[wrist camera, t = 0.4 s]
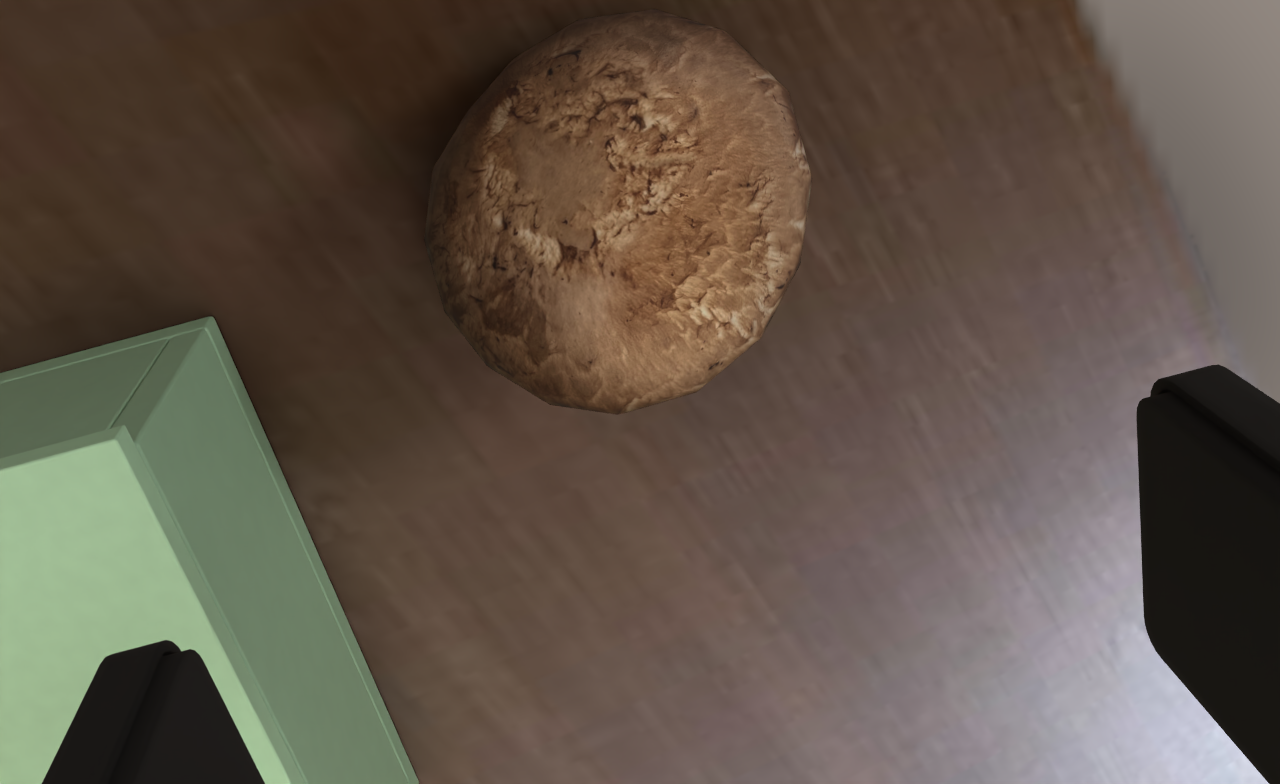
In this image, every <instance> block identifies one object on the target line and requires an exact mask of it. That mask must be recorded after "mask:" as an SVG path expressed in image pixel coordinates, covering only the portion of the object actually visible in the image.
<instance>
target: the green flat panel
mask: <svg viewBox="0 0 1280 784" xmlns="http://www.w3.org/2000/svg"><path fill="white" fill-rule="evenodd" d="M164 640H168V641H172V642H173V643H175V644H176V645H177V646H178V647H179V648H180V650H181V651H185V650H189V649H192V650H195V651H196V652H197V653H198V654H199V655H200V656H201V658H202V659H203V661H204V663H205V665H206V667H207V669H208V671H209V673H210V675H211V677H212V679H213V681H214V683H215V685H216V687H217V689H218V691H219V693H220V695H221V697H222V699H223V701H224V703H225V705H226V707H227V709H228V711H229V713H230V715H231V717H232V719H233V721H234V723H235V725H236V727H237V729H238V731H239V733H240V735H241V737H242V739H243V741H244V743H245V745H246V747H247V749H248V751H249V753H250V755H251V757H252V759H253V761H254V763H255V765H256V767H257V769H258V771H259V773H260V775H261V777H262V779H263V781H264V783H265V784H305V783H304V781H303V779H302V777H301V775H300V773H299V771H298V769H297V767H296V765H295V763H294V761H293V759H292V757H291V755H290V753H289V751H288V749H287V747H286V745H285V743H284V741H283V739H282V737H281V735H280V733H279V731H278V729H277V727H276V725H275V723H274V721H273V719H272V717H271V715H270V713H269V711H268V709H267V707H266V705H265V703H264V701H263V699H262V697H261V695H260V693H259V691H258V689H257V687H256V685H255V683H254V681H253V679H252V677H251V675H250V673H249V671H248V669H247V667H246V665H245V663H244V661H243V659H242V657H241V655H240V653H239V651H238V649H237V647H236V645H235V643H234V641H233V639H232V637H231V635H230V633H229V631H228V629H227V627H226V625H225V623H224V621H223V619H222V617H221V615H220V613H219V611H218V609H217V607H216V605H215V603H214V601H213V599H212V597H211V595H210V593H209V591H208V589H207V587H206V585H205V583H204V581H203V579H202V578H201V576H200V574H199V572H198V570H197V568H196V566H195V564H194V562H193V560H192V558H191V556H190V554H189V552H188V550H187V548H186V546H185V544H184V542H183V540H182V538H181V536H180V534H179V532H178V530H177V528H176V526H175V524H174V522H173V520H172V518H171V516H170V514H169V512H168V510H167V508H166V506H165V504H164V502H163V500H162V498H161V496H160V494H159V492H158V490H157V488H156V486H155V484H154V482H153V480H152V478H151V476H150V474H149V472H148V470H147V468H146V466H145V464H144V462H143V460H142V458H141V456H140V454H139V452H138V450H137V448H136V446H135V444H134V442H133V440H132V438H131V436H130V434H129V432H128V430H127V428H126V426H125V425H122V426H118V427H114V428H111V429H107V430H103V431H100V432H96V433H92V434H89V435H85V436H81V437H78V438H74V439H70V440H67V441H63V442H59V443H56V444H52V445H48V446H45V447H41V448H37V449H34V450H30V451H26V452H23V453H19V454H15V455H12V456H8V457H4V458H0V784H42V782H43V780H44V778H45V776H46V774H47V772H48V770H49V768H50V766H51V764H52V762H53V759H54V757H55V755H56V753H57V751H58V749H59V747H60V745H61V743H62V741H63V739H64V737H65V735H66V733H67V731H68V729H69V727H70V725H71V723H72V721H73V719H74V716H75V714H76V712H77V710H78V708H79V706H80V704H81V702H82V700H83V698H84V696H85V694H86V692H87V690H88V688H89V686H90V684H91V682H92V680H93V678H94V675H95V673H96V671H97V669H98V667H99V665H100V663H101V662H102V661H103V659H104V658H105V657H106V656H109V655H111V654H114V653H118V652H122V651H126V650H129V649H133V648H137V647H141V646H145V645H148V644H152V643H156V642H160V641H164Z"/></svg>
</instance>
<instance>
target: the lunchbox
mask: <svg viewBox="0 0 1280 784" xmlns="http://www.w3.org/2000/svg"><path fill="white" fill-rule="evenodd" d="M122 425H125V426H126V428H127V430H128V432H129V434H130V436H131V438H132V440H133V442H134V444H135V446H136V448H137V450H138V452H139V454H140V456H141V458H142V460H143V462H144V464H145V466H146V468H147V470H148V472H149V474H150V476H151V478H152V480H153V482H154V484H155V486H156V488H157V490H158V492H159V494H160V496H161V498H162V500H163V502H164V504H165V506H166V508H167V510H168V512H169V514H170V516H171V518H172V520H173V522H174V524H175V526H176V528H177V530H178V532H179V534H180V536H181V538H182V540H183V542H184V544H185V546H186V548H187V550H188V552H189V554H190V556H191V558H192V560H193V562H194V564H195V566H196V568H197V570H198V572H199V574H200V576H201V578H202V579H203V581H204V583H205V585H206V587H207V589H208V591H209V593H210V595H211V597H212V599H213V601H214V603H215V605H216V607H217V609H218V611H219V613H220V615H221V617H222V619H223V621H224V623H225V625H226V627H227V629H228V631H229V633H230V635H231V637H232V639H233V641H234V643H235V645H236V647H237V649H238V651H239V653H240V655H241V657H242V659H243V661H244V663H245V665H246V667H247V669H248V671H249V673H250V675H251V677H252V679H253V681H254V683H255V685H256V687H257V689H258V691H259V693H260V695H261V697H262V699H263V701H264V703H265V705H266V707H267V709H268V711H269V713H270V715H271V717H272V719H273V721H274V723H275V725H276V727H277V729H278V731H279V733H280V735H281V737H282V739H283V741H284V743H285V745H286V747H287V749H288V751H289V753H290V755H291V757H292V759H293V761H294V763H295V765H296V767H297V769H298V771H299V773H300V775H301V777H302V779H303V781H304V783H305V784H419V781H418V779H417V777H416V775H415V772H414V770H413V768H412V765H411V763H410V761H409V759H408V756H407V754H406V752H405V750H404V747H403V745H402V743H401V741H400V738H399V736H398V734H397V731H396V729H395V727H394V725H393V722H392V720H391V718H390V716H389V713H388V711H387V709H386V707H385V704H384V702H383V700H382V697H381V695H380V693H379V691H378V688H377V686H376V684H375V682H374V679H373V677H372V675H371V672H370V670H369V668H368V666H367V663H366V661H365V659H364V657H363V654H362V652H361V650H360V648H359V645H358V643H357V641H356V638H355V636H354V634H353V632H352V629H351V627H350V625H349V623H348V620H347V618H346V616H345V614H344V611H343V609H342V607H341V604H340V602H339V600H338V598H337V595H336V593H335V591H334V589H333V586H332V584H331V582H330V580H329V577H328V575H327V573H326V570H325V568H324V566H323V564H322V561H321V559H320V557H319V555H318V552H317V550H316V548H315V546H314V543H313V541H312V539H311V536H310V534H309V532H308V530H307V527H306V525H305V523H304V521H303V518H302V516H301V514H300V511H299V509H298V507H297V505H296V502H295V500H294V498H293V496H292V493H291V491H290V489H289V487H288V484H287V482H286V480H285V477H284V475H283V473H282V471H281V468H280V466H279V464H278V462H277V459H276V457H275V455H274V453H273V450H272V448H271V446H270V443H269V441H268V439H267V437H266V434H265V432H264V430H263V428H262V425H261V423H260V421H259V419H258V416H257V414H256V412H255V409H254V407H253V405H252V403H251V400H250V398H249V396H248V394H247V391H246V389H245V387H244V385H243V382H242V380H241V378H240V375H239V373H238V371H237V369H236V366H235V364H234V362H233V360H232V357H231V355H230V353H229V351H228V348H227V346H226V344H225V341H224V339H223V337H222V335H221V332H220V330H219V328H218V326H217V323H216V321H215V319H214V318H213V317H205V318H202V319H198V320H194V321H191V322H187V323H183V324H180V325H176V326H172V327H168V328H165V329H161V330H157V331H154V332H150V333H146V334H143V335H139V336H135V337H132V338H128V339H124V340H121V341H117V342H113V343H109V344H106V345H102V346H98V347H95V348H91V349H87V350H84V351H80V352H76V353H73V354H69V355H65V356H62V357H58V358H54V359H50V360H47V361H43V362H39V363H36V364H32V365H28V366H25V367H21V368H17V369H14V370H10V371H6V372H2V373H0V458H4V457H8V456H12V455H15V454H19V453H23V452H26V451H30V450H34V449H37V448H41V447H45V446H48V445H52V444H56V443H59V442H63V441H67V440H70V439H74V438H78V437H81V436H85V435H89V434H92V433H96V432H100V431H103V430H107V429H111V428H114V427H118V426H122Z"/></svg>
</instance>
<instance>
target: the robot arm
mask: <svg viewBox="0 0 1280 784" xmlns="http://www.w3.org/2000/svg"><path fill="white" fill-rule="evenodd" d="M1137 439H1138V466H1139V493H1140V520H1141V547H1142V575H1143V602H1144V620H1145V626H1146V629H1147V633H1148V635H1149V638H1150V640H1151V643H1152V645H1153V646H1154V648H1155V650H1156V652H1157V653H1158V654H1159V656H1160V657H1161V658H1162V659H1163V661H1164V662H1165V663H1166V664H1167V665H1168V666H1169V668H1170V669H1171V670H1172V671H1173V672H1174V673H1175V675H1176V676H1177V677H1178V678H1179V679H1180V680H1181V682H1182V683H1183V684H1184V685H1185V686H1186V687H1187V688H1188V690H1189V691H1190V692H1191V693H1192V694H1193V695H1194V697H1195V698H1196V699H1197V700H1198V701H1199V702H1200V704H1201V705H1202V706H1203V707H1204V708H1205V709H1206V711H1207V712H1208V713H1209V714H1210V715H1211V716H1212V718H1213V719H1214V720H1215V721H1216V722H1217V723H1218V725H1219V726H1220V727H1221V728H1222V729H1223V730H1224V732H1225V733H1226V734H1227V735H1228V736H1229V737H1230V739H1231V740H1232V741H1233V742H1234V743H1235V744H1236V746H1237V747H1238V748H1239V749H1240V750H1241V751H1242V752H1243V754H1244V755H1245V756H1246V757H1247V758H1248V759H1249V761H1250V762H1251V763H1252V764H1253V765H1254V766H1255V768H1256V769H1257V770H1258V771H1259V772H1260V773H1261V775H1262V776H1263V777H1264V778H1265V779H1266V780H1267V782H1268V783H1269V784H1280V404H1279V403H1278V402H1276V401H1275V400H1273V399H1272V398H1270V397H1269V396H1267V395H1266V394H1264V393H1263V392H1261V391H1260V390H1258V389H1257V388H1255V387H1254V386H1253V385H1251V384H1250V383H1248V382H1247V381H1245V380H1244V379H1242V378H1241V377H1239V376H1238V375H1236V374H1235V373H1233V372H1232V371H1230V370H1229V369H1227V368H1225V367H1223V366H1220V365H1211V366H1207V367H1203V368H1200V369H1196V370H1192V371H1188V372H1184V373H1181V374H1177V375H1173V376H1169V377H1165V378H1161V379H1158V380H1157V381H1156V382H1155V383H1154V385H1153V387H1152V390H1151V397H1148V398H1144V399H1142V400H1141V401H1140V402H1139V404H1138V407H1137ZM42 784H265V783H264V781H263V779H262V777H261V775H260V773H259V771H258V769H257V767H256V765H255V763H254V761H253V759H252V757H251V755H250V753H249V751H248V749H247V747H246V745H245V743H244V741H243V739H242V737H241V735H240V733H239V731H238V729H237V727H236V725H235V723H234V721H233V719H232V717H231V715H230V713H229V711H228V709H227V707H226V705H225V703H224V701H223V699H222V697H221V695H220V693H219V691H218V689H217V687H216V685H215V683H214V681H213V679H212V677H211V675H210V673H209V671H208V669H207V667H206V665H205V663H204V661H203V659H202V658H201V656H200V655H199V654H198V653H197V652H196V651H195V650H192V649H189V650H185V651H181V650H180V648H179V647H178V646H177V645H176V644H175V643H173V642H172V641H168V640H164V641H160V642H156V643H152V644H148V645H145V646H141V647H137V648H133V649H129V650H126V651H122V652H118V653H114V654H111V655H109V656H106V657H105V658H104V659H103V661H102V662H101V663H100V665H99V667H98V669H97V671H96V673H95V675H94V678H93V680H92V682H91V684H90V686H89V688H88V690H87V692H86V694H85V696H84V698H83V700H82V702H81V704H80V706H79V708H78V710H77V712H76V714H75V716H74V719H73V721H72V723H71V725H70V727H69V729H68V731H67V733H66V735H65V737H64V739H63V741H62V743H61V745H60V747H59V749H58V751H57V753H56V755H55V757H54V759H53V762H52V764H51V766H50V768H49V770H48V772H47V774H46V776H45V778H44V780H43V782H42Z"/></svg>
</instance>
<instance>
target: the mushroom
mask: <svg viewBox="0 0 1280 784" xmlns="http://www.w3.org/2000/svg"><path fill="white" fill-rule="evenodd" d="M811 183H812V176H811V172H810V169H809V165H808V161H807V158H806V154H805V150H804V146H803V143H802V139H801V135H800V132H799V128H798V124H797V120H796V117H795V113H794V109H793V106H792V102H791V98H790V94H789V91H788V90H787V89H786V88H784V87H783V86H782V85H781V84H780V83H779V82H778V81H777V80H776V79H775V78H774V77H773V76H772V75H771V74H770V73H769V72H768V71H767V70H766V69H765V68H764V67H763V66H762V65H761V64H760V63H758V62H757V61H756V60H755V59H754V58H753V57H752V56H751V55H750V54H749V53H748V52H747V51H746V50H745V49H744V48H743V47H742V46H741V45H740V44H739V43H738V42H737V41H736V40H735V39H733V38H732V37H731V36H730V35H729V34H728V33H726V32H725V31H724V30H721V29H718V28H714V27H711V26H708V25H705V24H702V23H698V22H695V21H692V20H689V19H686V18H682V17H679V16H676V15H673V14H670V13H667V12H663V11H660V10H657V9H652V10H644V11H637V12H630V13H622V14H615V15H607V16H600V17H592V18H585V19H581V20H577V21H575V22H573V23H572V24H570V25H568V26H567V27H565V28H563V29H562V30H560V31H558V32H556V33H555V34H553V35H551V36H550V37H548V38H546V39H545V40H543V41H541V42H540V43H538V44H536V45H535V46H533V47H531V48H530V49H528V50H526V51H525V52H523V53H521V54H520V55H518V56H517V57H515V58H514V59H513V60H512V61H511V62H510V63H509V64H508V65H507V66H506V68H505V69H504V70H503V71H502V72H501V73H500V74H499V76H498V77H497V78H496V79H495V80H494V81H493V82H492V84H491V85H490V86H489V87H488V88H487V89H486V90H485V92H484V93H483V94H482V95H481V96H480V97H479V98H478V100H477V101H476V102H475V103H474V104H473V105H472V106H471V108H470V109H469V110H468V111H467V113H466V114H465V116H464V118H463V119H462V121H461V123H460V124H459V126H458V128H457V129H456V131H455V133H454V134H453V136H452V138H451V139H450V141H449V143H448V144H447V146H446V148H445V149H444V151H443V153H442V154H441V156H440V158H439V159H438V161H437V163H436V164H435V166H434V168H433V170H432V178H431V187H430V195H429V203H428V212H427V220H426V229H425V237H424V241H425V245H426V248H427V252H428V255H429V259H430V262H431V265H432V269H433V272H434V276H435V279H436V283H437V286H438V290H439V293H440V297H441V300H442V304H443V307H444V311H445V313H446V314H447V315H448V317H449V318H450V319H451V320H452V322H453V323H454V324H455V326H456V327H457V328H458V329H459V331H460V332H461V333H462V334H463V336H464V337H465V338H466V340H467V341H468V342H469V343H470V345H471V346H472V347H473V349H474V350H475V351H476V352H477V354H478V355H479V356H480V357H481V359H482V360H483V361H484V363H485V364H486V365H487V366H488V367H490V368H491V369H493V370H494V371H496V372H498V373H499V374H501V375H502V376H504V377H506V378H507V379H509V380H511V381H512V382H514V383H515V384H517V385H519V386H520V387H522V388H524V389H525V390H527V391H528V392H530V393H532V394H533V395H535V396H536V397H538V398H540V399H541V400H543V401H545V402H546V403H548V404H550V405H555V406H562V407H569V408H576V409H583V410H590V411H597V412H603V413H610V414H623V413H627V412H631V411H634V410H637V409H641V408H644V407H648V406H651V405H654V404H658V403H661V402H665V401H668V400H671V399H675V398H678V397H682V396H685V395H689V394H692V393H695V392H697V391H698V390H700V389H701V388H702V387H703V386H704V385H706V384H707V383H708V382H709V381H710V380H712V379H713V378H714V377H715V376H716V375H718V374H719V373H720V372H721V371H722V370H724V369H725V368H726V367H727V366H728V365H729V364H731V363H732V362H733V361H734V360H735V359H737V358H738V357H739V356H740V355H741V354H743V353H744V352H745V351H746V350H747V349H749V348H750V347H751V346H752V345H753V344H755V343H756V342H757V341H758V340H759V339H761V337H762V335H763V333H764V331H765V329H766V327H767V326H768V324H769V322H770V320H771V318H772V316H773V314H774V312H775V311H776V309H777V307H778V305H779V303H780V301H781V299H782V297H783V295H784V294H785V292H786V290H787V288H788V286H789V284H790V282H791V280H792V279H793V277H794V275H795V273H796V271H797V269H798V267H799V265H800V263H801V255H802V248H803V241H804V234H805V227H806V219H807V212H808V205H809V198H810V191H811Z"/></svg>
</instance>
